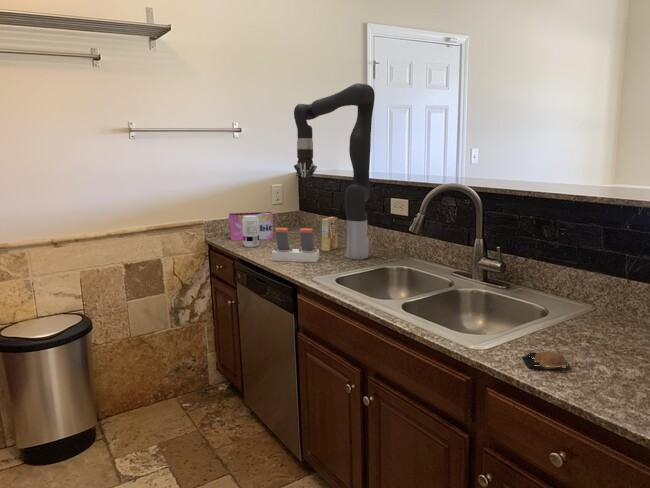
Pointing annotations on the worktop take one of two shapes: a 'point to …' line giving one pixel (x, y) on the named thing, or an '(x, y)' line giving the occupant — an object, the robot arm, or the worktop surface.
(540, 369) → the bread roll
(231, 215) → the gum box
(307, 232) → the near paddle
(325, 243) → the candy box
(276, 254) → the white paddle base
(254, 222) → the supplement can
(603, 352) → the worktop surface
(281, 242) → the far paddle
